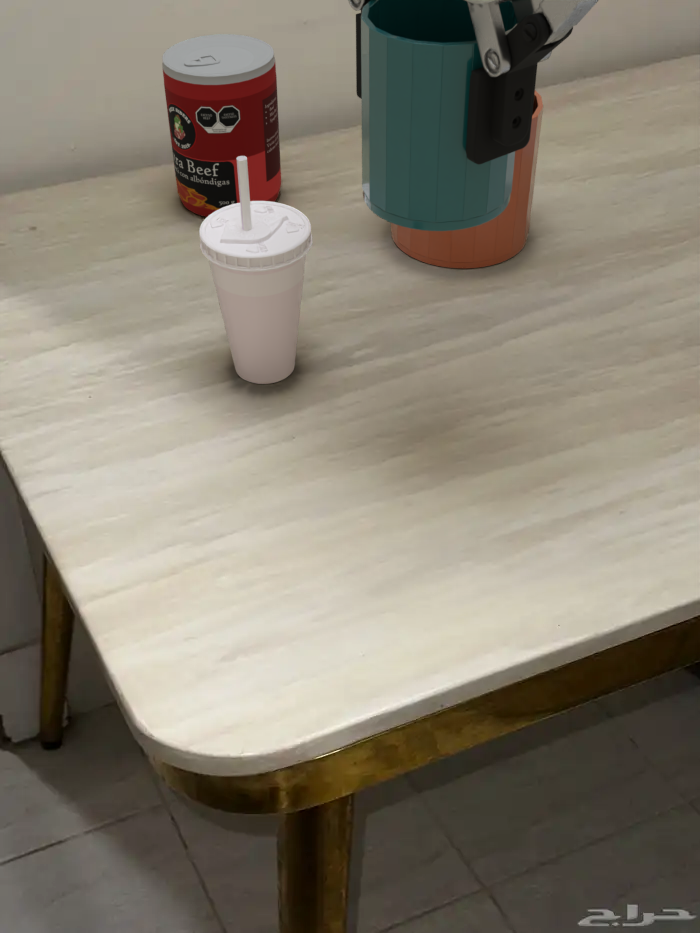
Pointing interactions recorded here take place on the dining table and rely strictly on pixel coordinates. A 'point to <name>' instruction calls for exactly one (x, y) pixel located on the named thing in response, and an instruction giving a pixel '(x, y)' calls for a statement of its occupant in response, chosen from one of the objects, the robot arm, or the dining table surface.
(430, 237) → the stack
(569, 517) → the dining table surface
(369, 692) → the dining table surface
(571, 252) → the dining table surface
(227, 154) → the canned food
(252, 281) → the smoothie
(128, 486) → the dining table surface
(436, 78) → the teal cup
